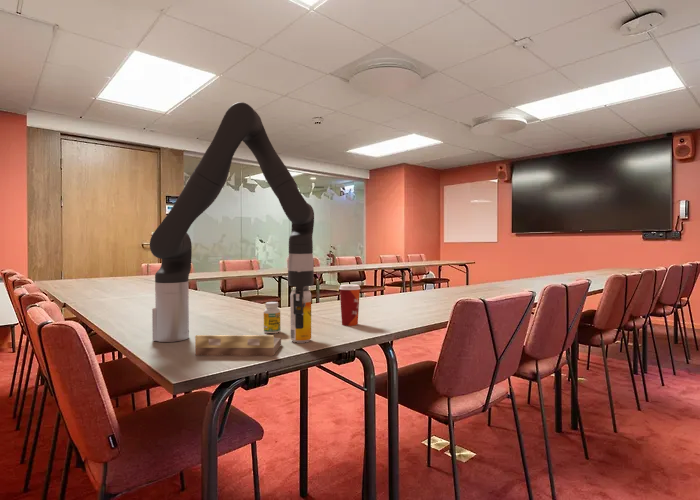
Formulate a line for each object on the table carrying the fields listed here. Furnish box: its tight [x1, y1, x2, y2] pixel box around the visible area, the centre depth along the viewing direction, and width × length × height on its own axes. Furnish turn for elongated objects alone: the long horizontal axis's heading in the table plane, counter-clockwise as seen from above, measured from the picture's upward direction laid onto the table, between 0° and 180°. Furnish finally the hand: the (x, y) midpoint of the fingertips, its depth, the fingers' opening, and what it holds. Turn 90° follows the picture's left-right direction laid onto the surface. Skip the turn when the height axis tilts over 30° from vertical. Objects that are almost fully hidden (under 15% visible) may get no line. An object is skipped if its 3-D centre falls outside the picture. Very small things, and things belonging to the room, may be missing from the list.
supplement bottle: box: [263, 301, 281, 334], centre depth 133 cm, size 5×5×10 cm
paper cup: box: [338, 283, 362, 327], centre depth 146 cm, size 8×8×14 cm
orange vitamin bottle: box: [289, 288, 312, 344], centre depth 121 cm, size 6×6×15 cm
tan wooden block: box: [194, 334, 282, 357], centre depth 111 cm, size 20×11×5 cm, turn 89°
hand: (300, 325), depth 121 cm, fingers closed on orange vitamin bottle, 6 cm apart
